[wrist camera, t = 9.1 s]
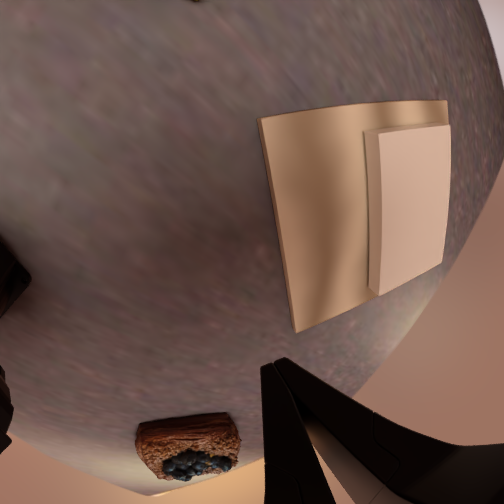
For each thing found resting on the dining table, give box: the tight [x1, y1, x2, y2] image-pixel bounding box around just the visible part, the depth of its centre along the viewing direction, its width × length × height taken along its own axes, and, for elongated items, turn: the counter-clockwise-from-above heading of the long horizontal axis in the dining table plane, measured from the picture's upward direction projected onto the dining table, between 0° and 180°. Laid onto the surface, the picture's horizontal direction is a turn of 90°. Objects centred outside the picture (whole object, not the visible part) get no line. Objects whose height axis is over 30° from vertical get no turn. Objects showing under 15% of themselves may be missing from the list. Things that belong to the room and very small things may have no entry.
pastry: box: [135, 412, 242, 481], centre depth 28 cm, size 11×12×6 cm
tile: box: [364, 122, 451, 296], centre depth 23 cm, size 2×14×9 cm
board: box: [257, 100, 448, 333], centre depth 24 cm, size 19×18×1 cm
